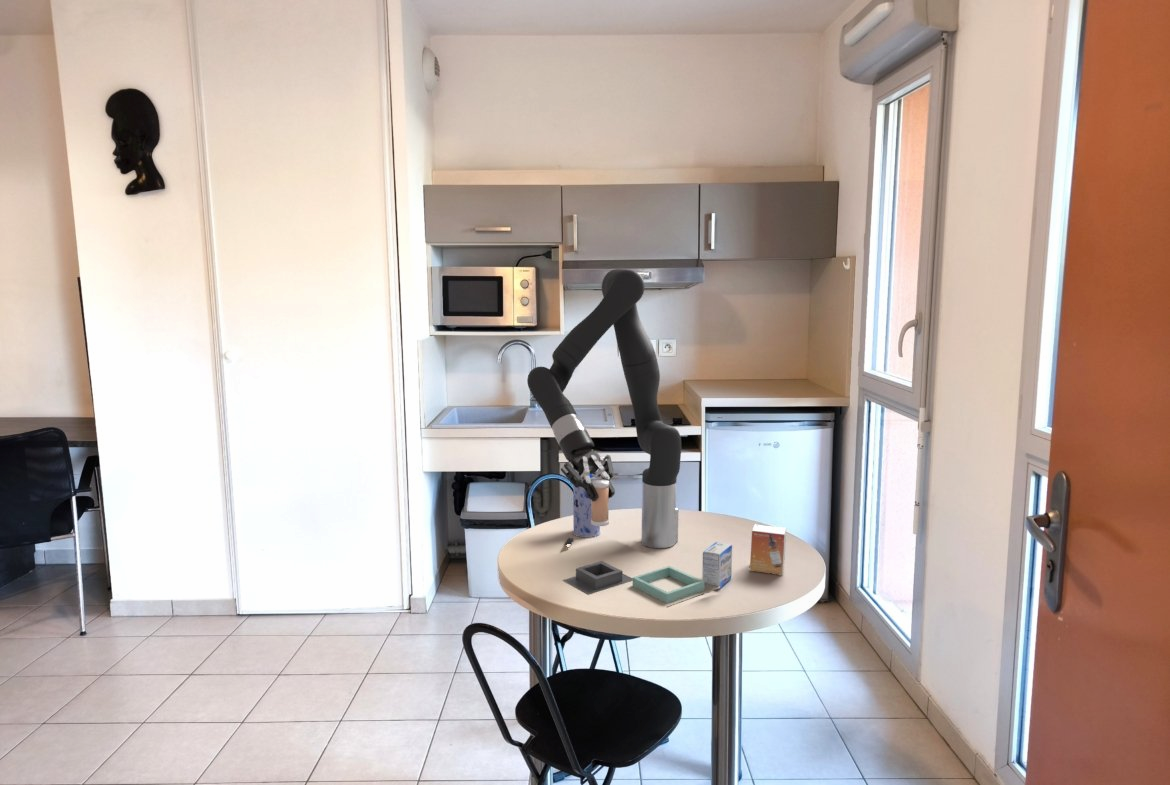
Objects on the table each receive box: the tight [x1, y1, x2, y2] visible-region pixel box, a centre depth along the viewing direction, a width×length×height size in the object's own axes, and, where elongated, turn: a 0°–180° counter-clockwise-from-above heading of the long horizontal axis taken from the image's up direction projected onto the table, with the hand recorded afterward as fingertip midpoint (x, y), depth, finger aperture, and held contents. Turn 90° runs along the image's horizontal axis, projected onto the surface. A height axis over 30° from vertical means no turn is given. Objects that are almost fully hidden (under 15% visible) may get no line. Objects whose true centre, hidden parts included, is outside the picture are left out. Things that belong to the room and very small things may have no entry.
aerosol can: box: [572, 474, 601, 539], centre depth 204 cm, size 8×8×20 cm
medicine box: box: [701, 541, 733, 591], centre depth 171 cm, size 8×4×9 cm, turn 148°
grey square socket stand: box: [562, 560, 633, 596], centre depth 170 cm, size 14×10×4 cm
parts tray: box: [632, 565, 705, 608], centre depth 166 cm, size 12×12×3 cm
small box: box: [749, 524, 787, 576], centre depth 179 cm, size 8×6×10 cm
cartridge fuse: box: [591, 479, 610, 527], centre depth 168 cm, size 4×4×10 cm
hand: (603, 497), depth 166 cm, fingers closed on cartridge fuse, 4 cm apart
